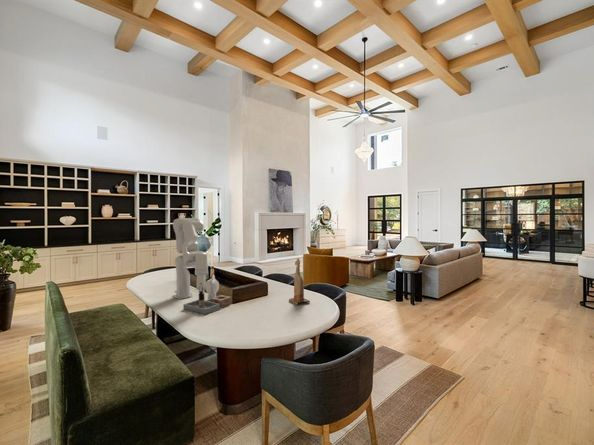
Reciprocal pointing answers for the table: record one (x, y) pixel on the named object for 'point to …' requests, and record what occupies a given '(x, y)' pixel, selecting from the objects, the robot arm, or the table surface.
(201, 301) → the dowel
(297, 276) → the bird sculpture
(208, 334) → the table surface
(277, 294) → the table surface
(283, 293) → the table surface
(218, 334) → the table surface
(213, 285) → the shell sculpture
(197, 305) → the tray
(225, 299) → the holder block
